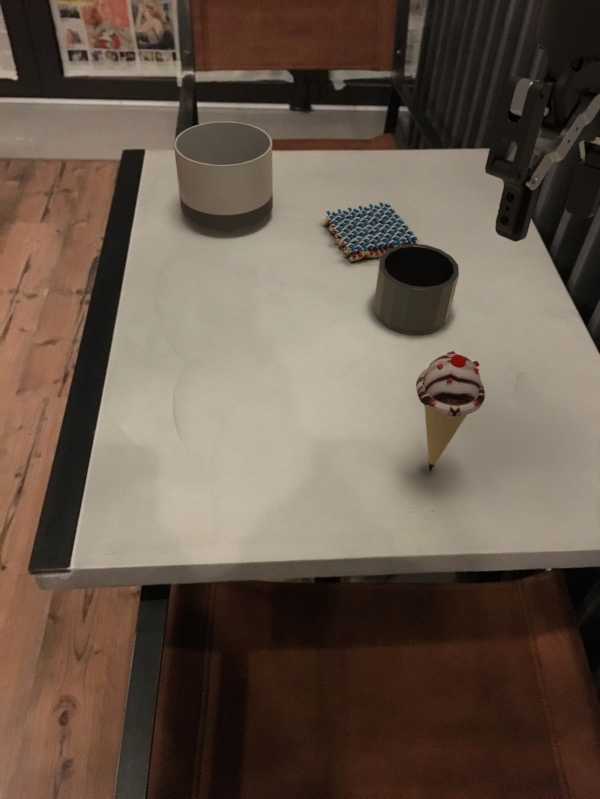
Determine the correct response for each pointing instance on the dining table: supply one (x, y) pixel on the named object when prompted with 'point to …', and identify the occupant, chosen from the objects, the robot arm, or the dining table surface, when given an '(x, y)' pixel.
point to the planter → (224, 174)
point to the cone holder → (415, 288)
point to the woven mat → (369, 231)
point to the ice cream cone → (448, 398)
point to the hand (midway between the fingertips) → (545, 225)
